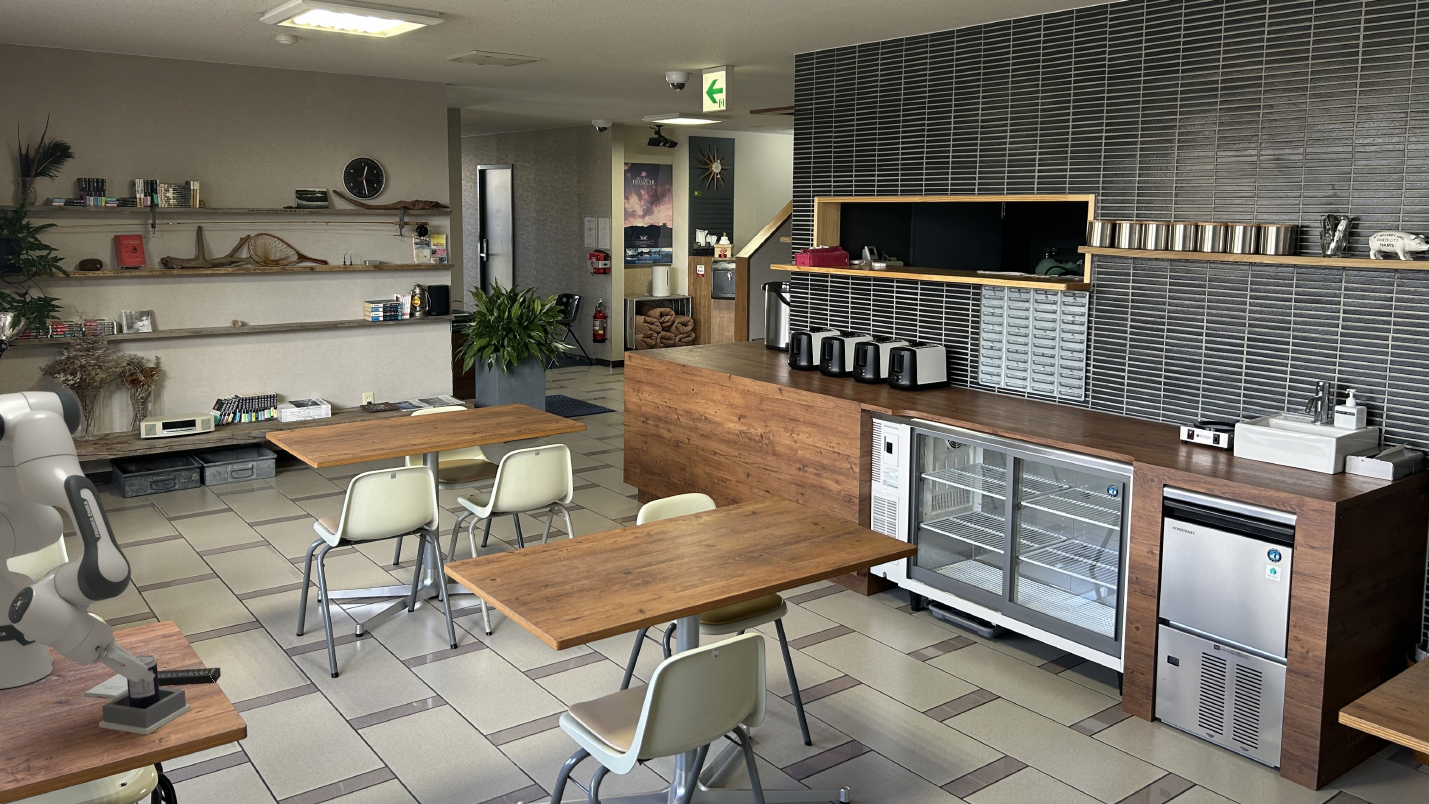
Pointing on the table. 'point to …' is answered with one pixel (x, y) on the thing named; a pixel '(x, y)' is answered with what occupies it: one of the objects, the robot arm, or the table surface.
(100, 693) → the external hard drive
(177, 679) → the multiport hub
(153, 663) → the beverage can
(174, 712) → the square holder
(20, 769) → the table surface
